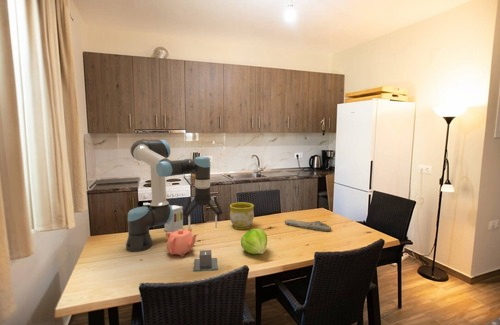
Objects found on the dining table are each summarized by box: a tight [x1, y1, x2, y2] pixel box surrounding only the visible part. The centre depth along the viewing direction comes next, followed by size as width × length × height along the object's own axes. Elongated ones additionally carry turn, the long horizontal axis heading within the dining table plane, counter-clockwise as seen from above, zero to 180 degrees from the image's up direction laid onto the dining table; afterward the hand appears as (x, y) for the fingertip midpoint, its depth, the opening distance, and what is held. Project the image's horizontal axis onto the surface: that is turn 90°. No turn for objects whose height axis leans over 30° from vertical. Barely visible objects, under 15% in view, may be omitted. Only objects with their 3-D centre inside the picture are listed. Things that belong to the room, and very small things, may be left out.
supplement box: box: [164, 204, 184, 233], centre depth 192 cm, size 10×9×17 cm
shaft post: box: [193, 257, 219, 272], centre depth 140 cm, size 12×12×5 cm
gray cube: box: [199, 249, 213, 267], centre depth 139 cm, size 6×6×6 cm
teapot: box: [165, 228, 199, 258], centre depth 154 cm, size 16×17×14 cm
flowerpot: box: [229, 201, 255, 231], centre depth 199 cm, size 18×18×16 cm
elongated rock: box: [284, 219, 332, 232], centre depth 200 cm, size 35×5×10 cm
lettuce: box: [240, 228, 268, 255], centre depth 154 cm, size 15×20×14 cm
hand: (202, 227), depth 139 cm, fingers open, 13 cm apart
